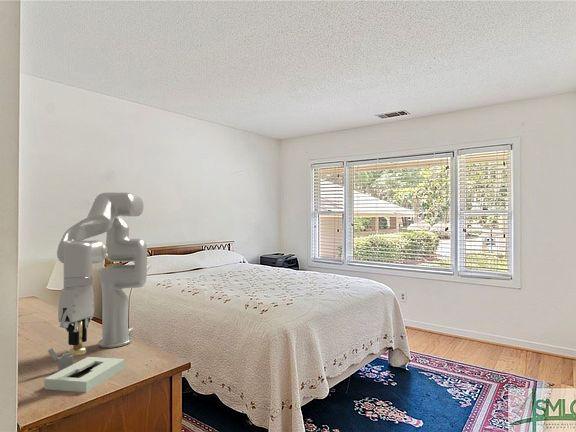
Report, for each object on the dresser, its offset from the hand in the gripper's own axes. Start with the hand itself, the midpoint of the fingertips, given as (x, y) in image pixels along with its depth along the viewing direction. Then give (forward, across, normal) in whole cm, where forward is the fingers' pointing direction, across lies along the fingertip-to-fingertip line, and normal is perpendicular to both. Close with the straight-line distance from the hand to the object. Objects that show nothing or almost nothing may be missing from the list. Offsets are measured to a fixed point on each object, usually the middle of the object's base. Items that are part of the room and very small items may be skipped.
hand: (77, 342), depth 111 cm
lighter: (+12, -8, -13) cm, 20 cm away
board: (+12, -4, 0) cm, 13 cm away
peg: (+3, 0, 0) cm, 3 cm away
